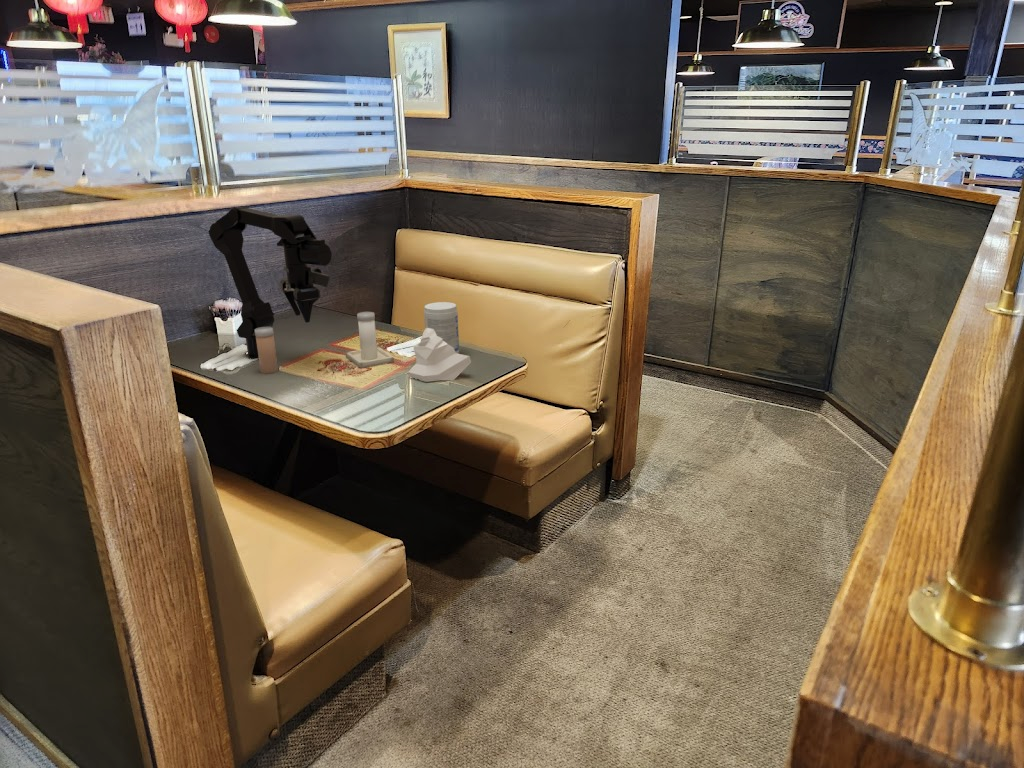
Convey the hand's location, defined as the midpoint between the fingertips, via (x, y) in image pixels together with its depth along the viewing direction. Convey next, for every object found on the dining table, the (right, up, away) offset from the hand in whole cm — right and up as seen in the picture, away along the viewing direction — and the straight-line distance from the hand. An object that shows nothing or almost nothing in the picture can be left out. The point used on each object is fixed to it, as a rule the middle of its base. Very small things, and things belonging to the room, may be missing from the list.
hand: (302, 318), depth 201 cm
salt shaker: (+17, -11, +6) cm, 21 cm away
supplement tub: (+38, -10, +11) cm, 41 cm away
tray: (+17, -11, +7) cm, 22 cm away
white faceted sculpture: (+38, -16, -7) cm, 42 cm away
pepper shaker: (-9, -15, -2) cm, 17 cm away
